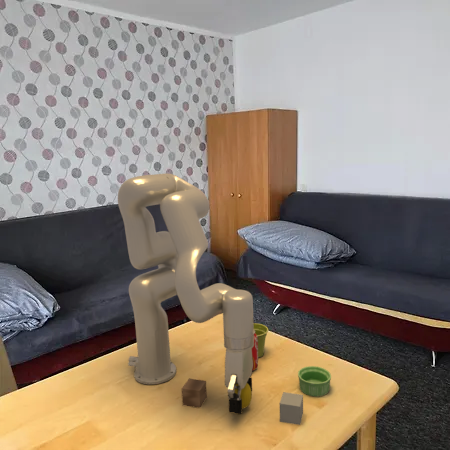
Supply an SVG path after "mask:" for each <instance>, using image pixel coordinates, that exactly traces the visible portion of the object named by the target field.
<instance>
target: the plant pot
mask: <svg viewBox="0 0 450 450" xmlns="http://www.w3.org/2000/svg"><path fill="white" fill-rule="evenodd" d="M253 325H254V330H255V333H256V335H257V339H258V358H262V357H263V356H264V351H265V344H266V337H267V333H268V332H269V328H268V327H267V326H266V325H264V324H262V323H254V322H253Z"/></svg>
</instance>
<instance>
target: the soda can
mask: <svg viewBox="0 0 450 450" xmlns="http://www.w3.org/2000/svg"><path fill="white" fill-rule="evenodd" d="M258 366H259V357H258V339H257V335H256V333H255V330H254V346H253V348H252V372H253V371H255V370H257V369H258Z"/></svg>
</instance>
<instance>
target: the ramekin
mask: <svg viewBox="0 0 450 450" xmlns="http://www.w3.org/2000/svg"><path fill="white" fill-rule="evenodd" d="M297 378H298V384H299V390H300V391H301V392H302V393H303V394H305V395H308V396H310V397H323V396H325V395H327V394H328V393H329V391H330V383H331V380H332V375H331V373H330V371H329V370H327V369H325V368H324V367H321V366H313V365H311V366H310V365H309V366H304V367H301V368H300V369H299V370H298V372H297Z"/></svg>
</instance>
